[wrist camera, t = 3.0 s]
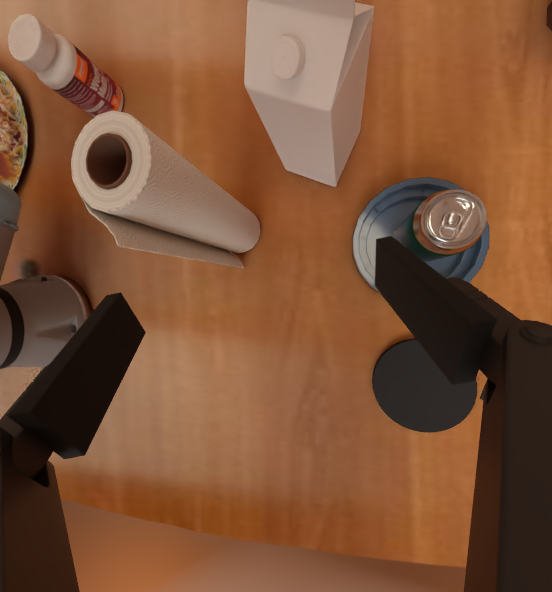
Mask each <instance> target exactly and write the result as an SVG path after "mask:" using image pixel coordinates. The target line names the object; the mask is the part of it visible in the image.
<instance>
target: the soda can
mask: <svg viewBox="0 0 552 592" xmlns="http://www.w3.org/2000/svg"><path fill="white" fill-rule="evenodd" d="M486 223H487V211H486V207H485V205H484V203H483V202H482V201H481V199H480V198H479V197H477V196H476V195H475V194H473V193H471V192H468V191H465V190H455V189H448V190H442V191H439V192H436V193H433V194H431V195H430V196H428V197H427V198H425V199H424V200H423V201H422V202H421V203H420V204H419V205H418V206H417V207H416V208H415V209H414V210H413V211H412V213H411V214H410V215H409V216H408V217H407V218H406V219H405V220H404V221H403V222H402V223H401V224H400V225H399V226H398V227H397V229H396V230H395V231H394V232H393V234H392V237H394V238H395V239H396V240H397V241H399V242H400V243H401V244H402V245H404V246H405V247H406V248H408V249H409V250H410V251H411V252H413V253H414V254H415V255H416V256H418V257H419V258H420V259H422V260H423V261H424V262H425V263H426V262H430V261H434V260H437V259H441V258H445V257H448V256H452V255H455V254H459V253H461V252H464V251H466V250H467V249H469V248H471V247H472V246H473V245H474V244H475V243H476V242H477V241H478V240H479V238H480V237H481V235H482V233H483V231H484V228H485V226H486Z"/></svg>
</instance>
